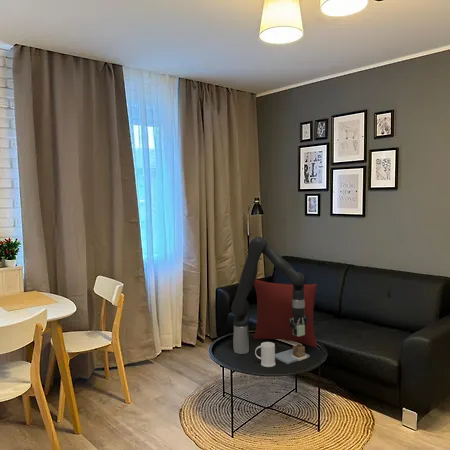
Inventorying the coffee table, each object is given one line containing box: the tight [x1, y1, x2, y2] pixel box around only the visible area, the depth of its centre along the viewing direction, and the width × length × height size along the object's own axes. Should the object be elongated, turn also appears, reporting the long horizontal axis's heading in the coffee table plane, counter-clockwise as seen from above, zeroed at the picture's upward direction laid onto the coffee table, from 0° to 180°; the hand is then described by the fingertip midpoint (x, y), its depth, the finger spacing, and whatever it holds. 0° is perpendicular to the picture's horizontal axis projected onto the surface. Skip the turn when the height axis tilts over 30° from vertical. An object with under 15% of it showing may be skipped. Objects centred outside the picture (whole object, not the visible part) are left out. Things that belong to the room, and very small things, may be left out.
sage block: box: [293, 323, 305, 337], centre depth 262 cm, size 5×5×6 cm
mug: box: [254, 341, 276, 368], centre depth 256 cm, size 12×8×12 cm
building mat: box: [275, 348, 311, 365], centre depth 265 cm, size 14×18×1 cm
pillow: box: [253, 278, 318, 349], centre depth 288 cm, size 44×15×42 cm, turn 65°
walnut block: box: [292, 343, 306, 358], centre depth 264 cm, size 5×5×6 cm
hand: (298, 333), depth 263 cm, fingers closed on sage block, 5 cm apart
